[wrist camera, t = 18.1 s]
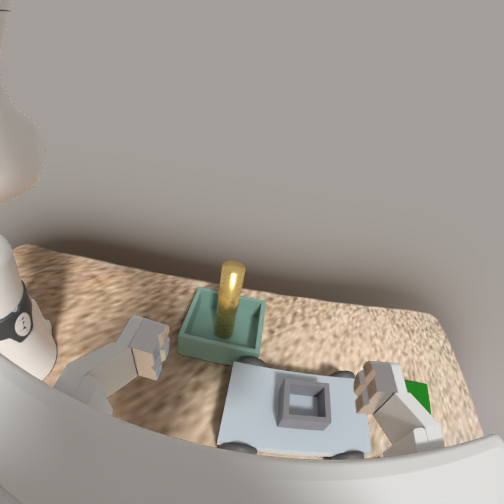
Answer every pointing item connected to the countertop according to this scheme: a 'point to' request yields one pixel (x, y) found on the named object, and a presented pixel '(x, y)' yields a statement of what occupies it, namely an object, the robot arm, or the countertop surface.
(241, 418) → the trolley
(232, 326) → the pin
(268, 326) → the countertop surface
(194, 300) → the tray
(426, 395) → the dish sponge
